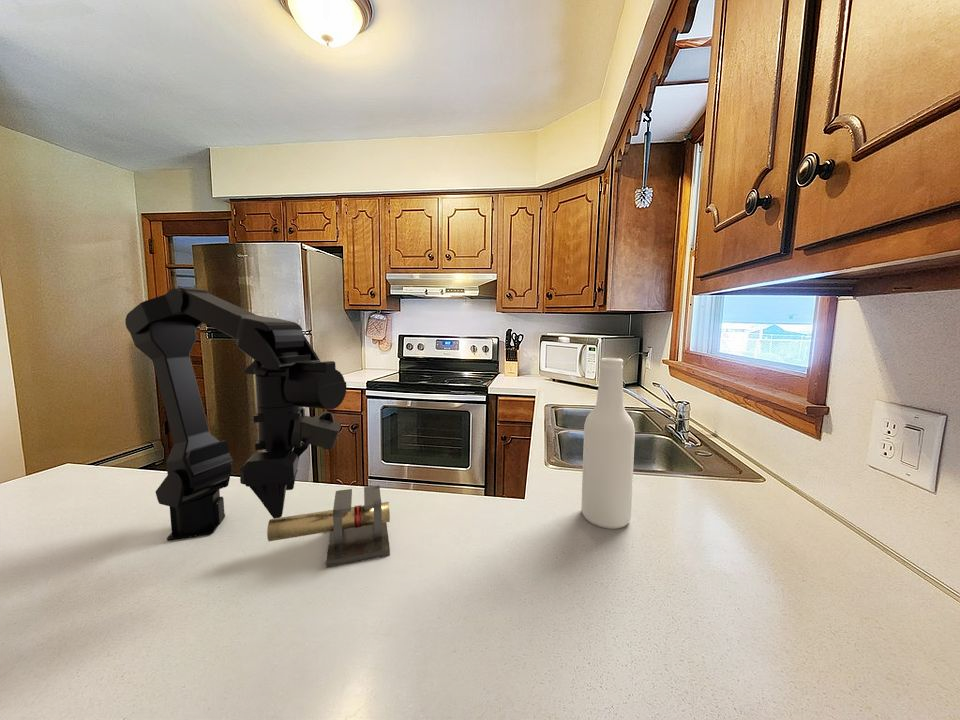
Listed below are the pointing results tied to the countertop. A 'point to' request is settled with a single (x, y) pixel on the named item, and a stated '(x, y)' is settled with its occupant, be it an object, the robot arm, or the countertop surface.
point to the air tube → (322, 522)
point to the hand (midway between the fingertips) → (284, 502)
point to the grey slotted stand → (357, 531)
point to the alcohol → (608, 453)
